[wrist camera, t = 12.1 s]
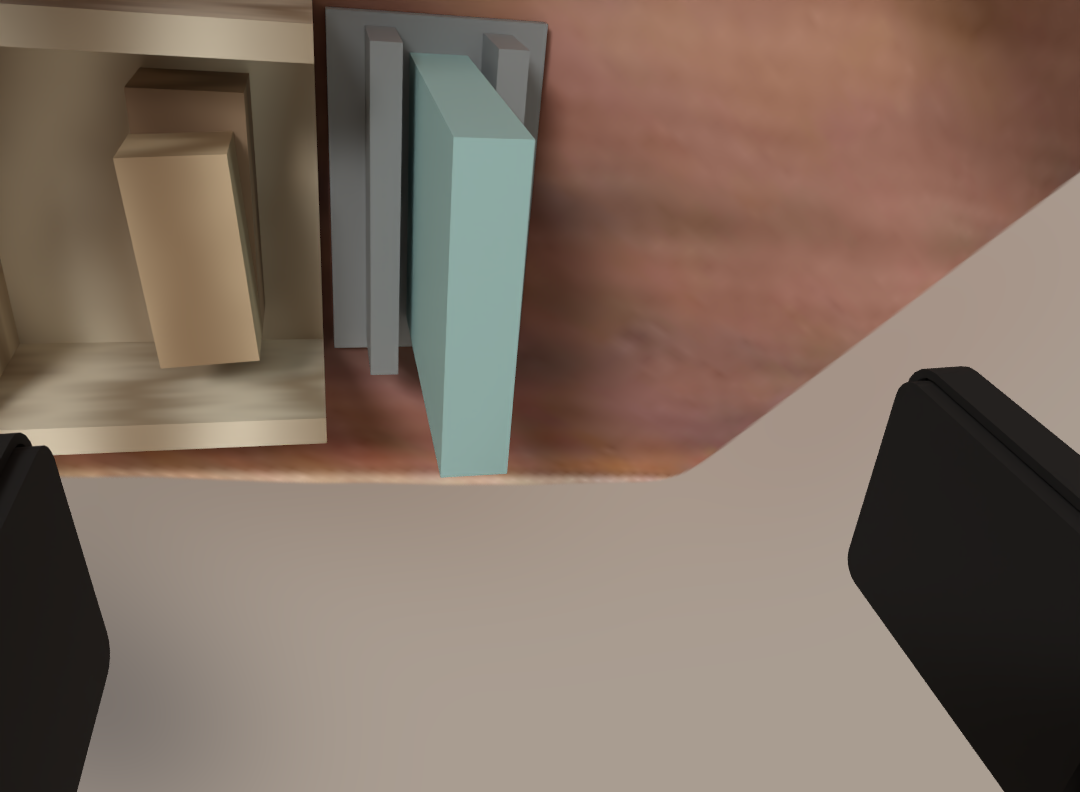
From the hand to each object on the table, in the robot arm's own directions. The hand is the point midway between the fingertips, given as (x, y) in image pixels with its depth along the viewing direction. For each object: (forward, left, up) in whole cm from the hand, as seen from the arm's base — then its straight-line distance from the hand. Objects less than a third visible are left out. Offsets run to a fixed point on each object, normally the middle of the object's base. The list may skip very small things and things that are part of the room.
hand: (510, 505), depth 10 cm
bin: (+9, +7, -31) cm, 33 cm away
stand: (-3, +7, -31) cm, 32 cm away
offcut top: (+7, +7, -27) cm, 28 cm away
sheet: (-3, +6, -31) cm, 31 cm away
